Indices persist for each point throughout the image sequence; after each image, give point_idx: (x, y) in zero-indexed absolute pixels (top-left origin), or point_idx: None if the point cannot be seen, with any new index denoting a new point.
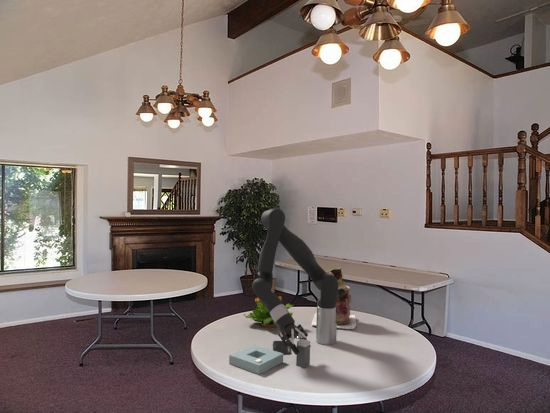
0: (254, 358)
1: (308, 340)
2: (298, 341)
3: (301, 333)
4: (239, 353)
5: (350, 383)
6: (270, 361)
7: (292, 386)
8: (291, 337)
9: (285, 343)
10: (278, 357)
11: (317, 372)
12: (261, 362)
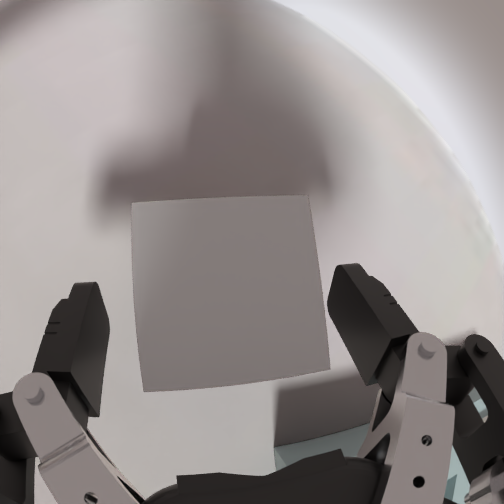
0: (465, 476)
1: (132, 241)
2: (318, 343)
3: (85, 470)
4: None
5: (224, 20)
6: None
7: (442, 181)
8: (448, 416)
9: (462, 405)
10: (353, 450)
11: (233, 162)
12: (484, 410)
